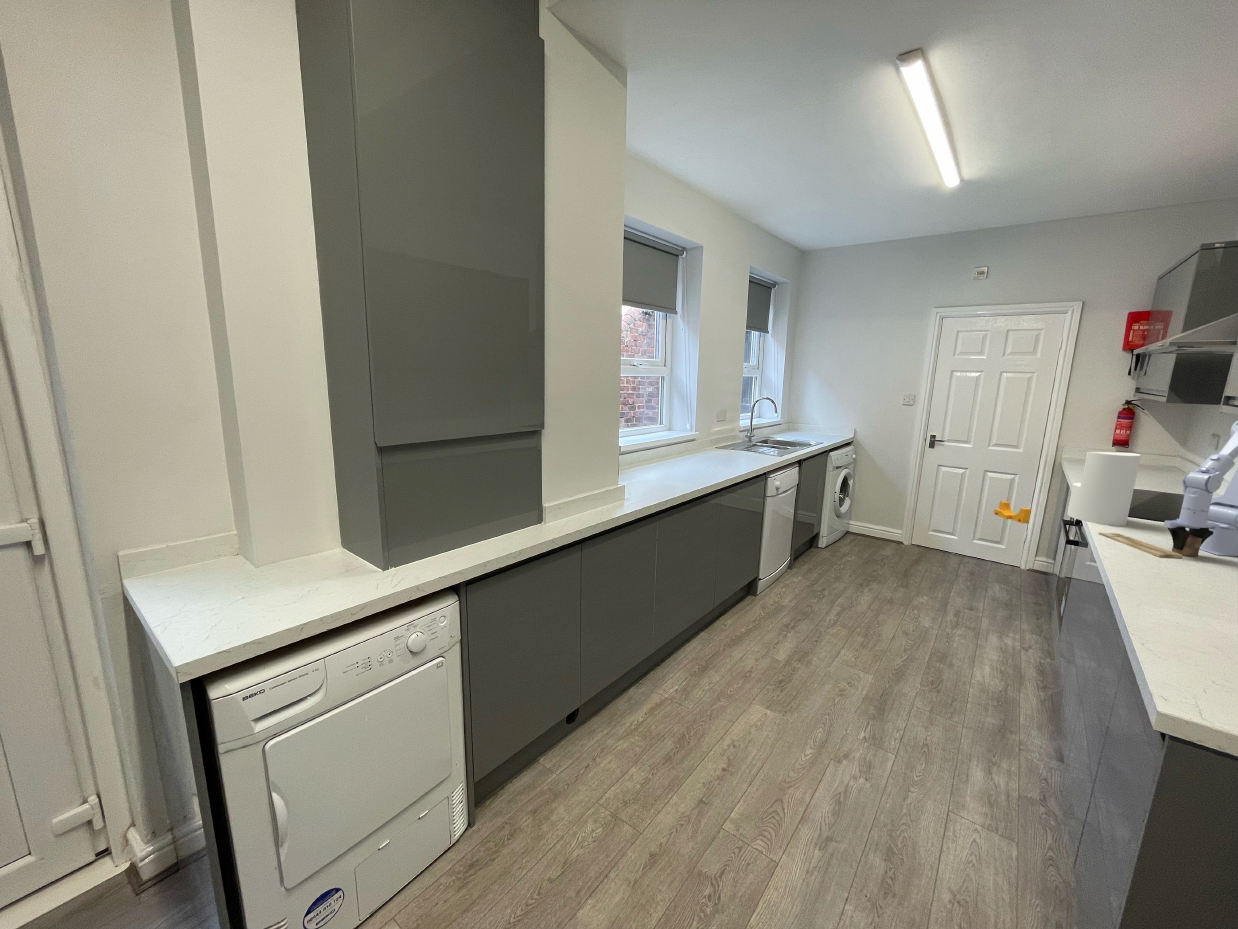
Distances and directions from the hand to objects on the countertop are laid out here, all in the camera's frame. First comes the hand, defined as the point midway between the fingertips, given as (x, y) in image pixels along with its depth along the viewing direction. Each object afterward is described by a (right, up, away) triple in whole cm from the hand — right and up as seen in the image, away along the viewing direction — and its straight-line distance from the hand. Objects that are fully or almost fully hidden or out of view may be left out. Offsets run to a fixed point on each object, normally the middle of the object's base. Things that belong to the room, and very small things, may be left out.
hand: (1185, 549), depth 160 cm
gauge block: (0, -1, 0) cm, 1 cm away
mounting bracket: (-28, +5, +36) cm, 46 cm away
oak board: (-7, 0, +8) cm, 11 cm away
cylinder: (+8, +5, +38) cm, 39 cm away
